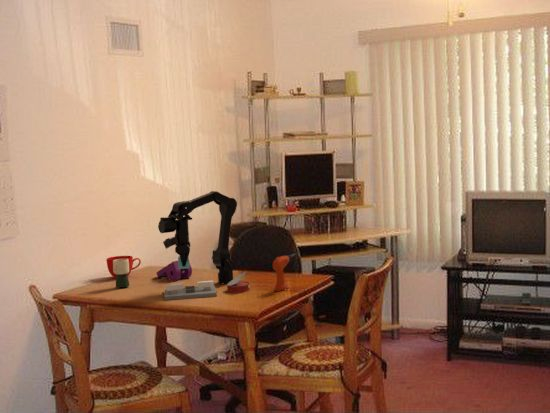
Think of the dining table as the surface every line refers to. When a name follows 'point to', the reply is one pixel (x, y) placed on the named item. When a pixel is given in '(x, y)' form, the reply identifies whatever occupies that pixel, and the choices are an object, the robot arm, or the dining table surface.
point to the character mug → (121, 272)
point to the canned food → (238, 285)
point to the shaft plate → (190, 291)
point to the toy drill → (281, 271)
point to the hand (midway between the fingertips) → (184, 265)
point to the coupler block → (181, 263)
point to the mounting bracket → (174, 271)
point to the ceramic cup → (130, 258)
